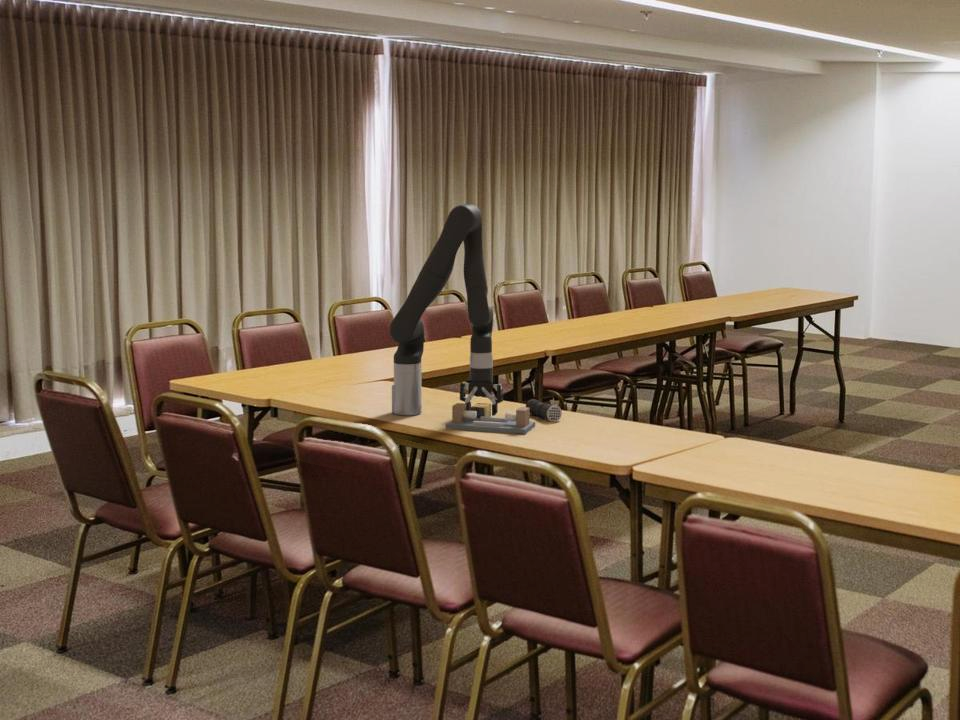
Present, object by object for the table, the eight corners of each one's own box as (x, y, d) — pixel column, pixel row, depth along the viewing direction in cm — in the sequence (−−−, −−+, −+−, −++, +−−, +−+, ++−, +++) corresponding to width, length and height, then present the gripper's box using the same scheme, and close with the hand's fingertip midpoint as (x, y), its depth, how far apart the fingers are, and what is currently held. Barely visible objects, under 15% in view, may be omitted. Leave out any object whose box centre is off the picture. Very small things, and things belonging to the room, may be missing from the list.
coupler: (484, 421, 375) (484, 408, 374) (470, 420, 376) (470, 407, 376) (490, 417, 382) (490, 403, 382) (477, 416, 384) (477, 402, 383)
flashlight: (523, 414, 388) (524, 398, 387) (537, 412, 390) (538, 397, 390) (547, 422, 374) (547, 406, 374) (561, 421, 377) (561, 404, 376)
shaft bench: (445, 428, 364) (445, 407, 363) (457, 421, 375) (457, 400, 374) (525, 434, 356) (525, 412, 355) (535, 426, 368) (535, 405, 367)
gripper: (456, 366, 375) (457, 415, 377) (498, 368, 371) (499, 417, 373) (464, 363, 382) (464, 411, 385) (505, 364, 378) (505, 413, 380)
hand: (481, 414), depth 379 cm, fingers open, 8 cm apart
